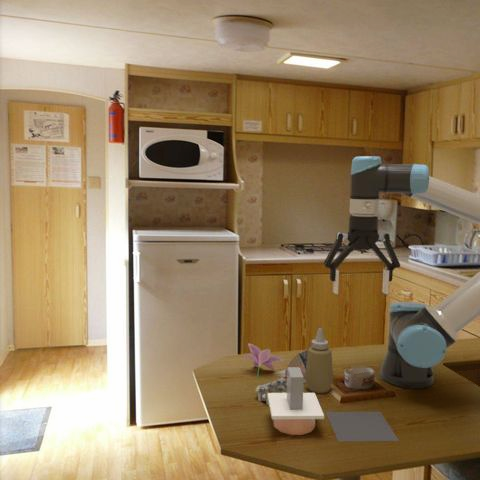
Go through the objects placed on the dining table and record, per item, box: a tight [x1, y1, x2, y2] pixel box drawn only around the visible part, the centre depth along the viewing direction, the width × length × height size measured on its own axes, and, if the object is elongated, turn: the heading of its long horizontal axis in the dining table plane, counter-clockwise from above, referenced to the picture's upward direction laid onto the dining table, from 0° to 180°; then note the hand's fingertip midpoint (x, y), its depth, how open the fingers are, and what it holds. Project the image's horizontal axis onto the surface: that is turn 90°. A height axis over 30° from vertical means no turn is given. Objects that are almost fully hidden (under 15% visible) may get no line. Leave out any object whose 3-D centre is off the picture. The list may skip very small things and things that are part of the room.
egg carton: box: [255, 377, 287, 406], centre depth 136 cm, size 11×8×4 cm
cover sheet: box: [267, 366, 325, 420], centre depth 120 cm, size 12×12×9 cm
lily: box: [241, 343, 285, 379], centre depth 152 cm, size 12×12×10 cm
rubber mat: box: [325, 411, 400, 443], centre depth 121 cm, size 14×14×1 cm
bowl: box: [272, 419, 316, 436], centre depth 121 cm, size 10×10×5 cm
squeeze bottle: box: [304, 327, 334, 394], centre depth 140 cm, size 8×8×18 cm
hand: (360, 293), depth 136 cm, fingers open, 13 cm apart
